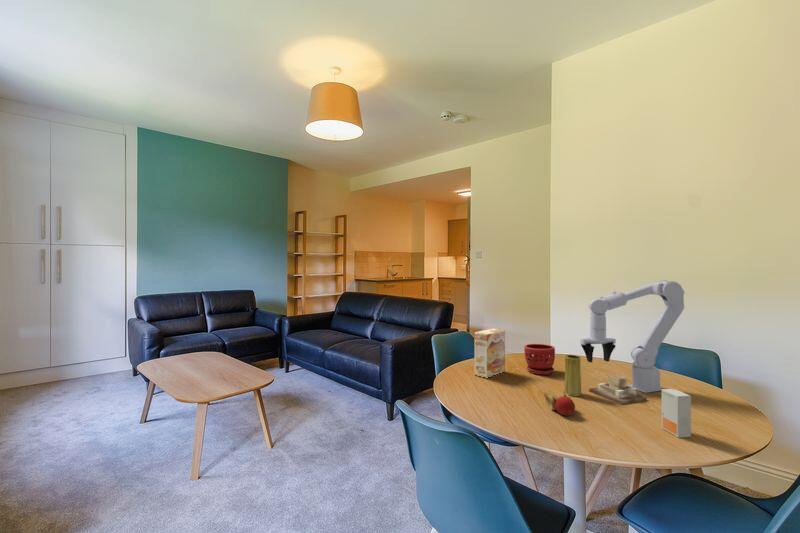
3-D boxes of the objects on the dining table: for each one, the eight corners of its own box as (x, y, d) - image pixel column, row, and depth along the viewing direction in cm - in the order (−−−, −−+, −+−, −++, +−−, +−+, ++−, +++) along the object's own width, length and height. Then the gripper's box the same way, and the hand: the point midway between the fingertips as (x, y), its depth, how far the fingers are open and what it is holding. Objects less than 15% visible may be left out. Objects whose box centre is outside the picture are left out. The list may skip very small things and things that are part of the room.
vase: (583, 397, 133) (583, 358, 133) (566, 396, 135) (566, 358, 134) (579, 391, 139) (579, 354, 139) (562, 390, 140) (562, 354, 140)
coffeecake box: (487, 379, 155) (487, 334, 154) (473, 375, 160) (473, 332, 160) (505, 372, 165) (505, 329, 164) (492, 368, 170) (492, 327, 170)
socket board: (612, 387, 143) (612, 378, 143) (646, 400, 130) (646, 390, 130) (589, 391, 139) (589, 382, 139) (621, 404, 126) (621, 394, 126)
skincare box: (660, 428, 108) (660, 388, 108) (673, 427, 108) (673, 388, 108) (678, 438, 102) (678, 396, 102) (691, 437, 102) (691, 395, 102)
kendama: (535, 401, 133) (555, 415, 115) (537, 384, 134) (557, 395, 116) (556, 405, 132) (579, 420, 115) (558, 388, 133) (581, 399, 115)
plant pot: (557, 370, 167) (557, 344, 167) (552, 378, 156) (552, 350, 156) (528, 366, 174) (527, 341, 174) (521, 373, 163) (521, 347, 163)
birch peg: (617, 390, 137) (617, 375, 137) (626, 394, 133) (626, 378, 133) (608, 392, 136) (608, 376, 136) (618, 395, 132) (618, 379, 132)
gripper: (588, 330, 142) (588, 364, 142) (621, 329, 144) (621, 363, 144) (577, 327, 149) (577, 360, 149) (608, 326, 151) (608, 358, 151)
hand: (598, 361), depth 147 cm, fingers open, 7 cm apart
